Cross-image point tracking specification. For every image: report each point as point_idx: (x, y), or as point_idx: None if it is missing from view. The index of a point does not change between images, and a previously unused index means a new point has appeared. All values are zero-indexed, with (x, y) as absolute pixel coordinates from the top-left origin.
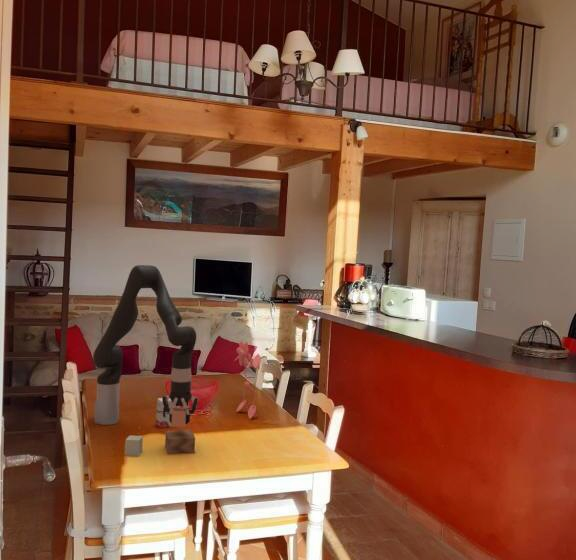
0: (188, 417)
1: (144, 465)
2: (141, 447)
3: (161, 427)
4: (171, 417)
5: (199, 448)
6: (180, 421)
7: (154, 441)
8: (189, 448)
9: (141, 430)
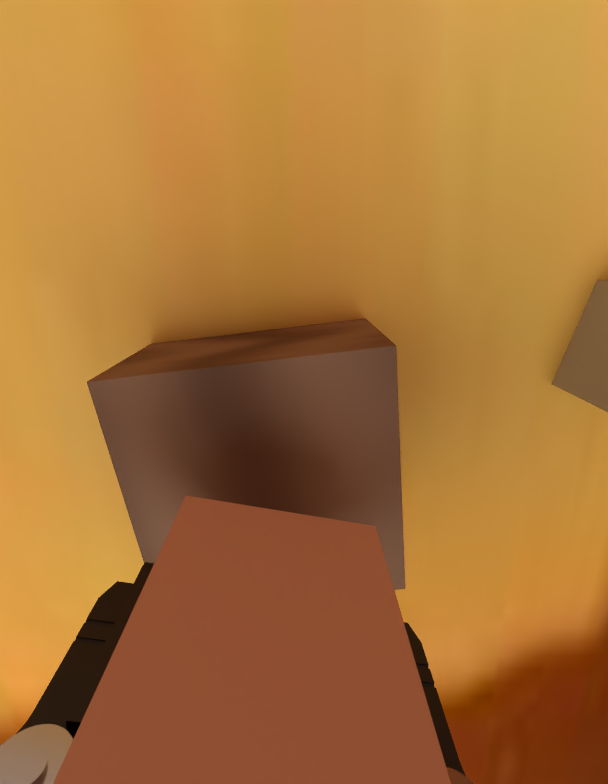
0: (79, 670)
1: (587, 20)
2: (595, 369)
3: None
4: None
5: None
6: (240, 567)
7: (443, 575)
8: (180, 347)
9: (502, 730)
